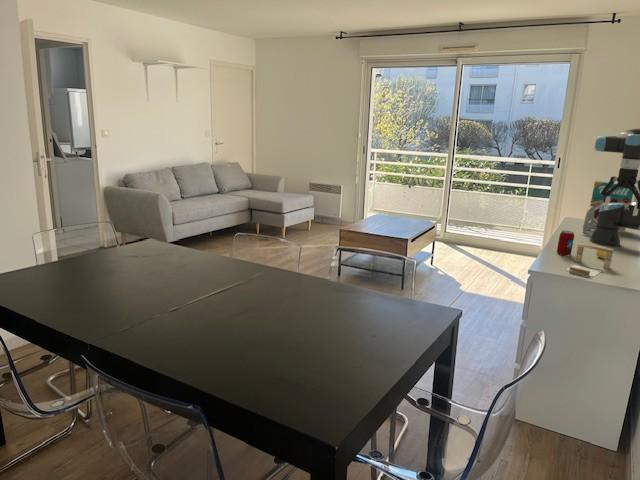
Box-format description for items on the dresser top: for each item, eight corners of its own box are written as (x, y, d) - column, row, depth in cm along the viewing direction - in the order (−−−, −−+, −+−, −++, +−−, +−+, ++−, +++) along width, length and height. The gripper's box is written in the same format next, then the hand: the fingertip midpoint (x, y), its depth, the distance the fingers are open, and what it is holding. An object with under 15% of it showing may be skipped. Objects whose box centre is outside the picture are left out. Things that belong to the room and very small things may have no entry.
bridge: (576, 260, 240) (580, 242, 238) (609, 267, 231) (613, 249, 229) (574, 261, 238) (578, 243, 236) (607, 269, 229) (611, 250, 226)
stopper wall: (569, 271, 222) (570, 266, 221) (589, 276, 217) (590, 270, 216) (568, 272, 221) (569, 267, 220) (588, 277, 216) (589, 271, 215)
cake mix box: (586, 227, 318) (594, 181, 310) (586, 225, 323) (595, 180, 315) (624, 232, 307) (634, 185, 299) (624, 230, 312) (634, 184, 304)
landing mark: (573, 265, 232) (573, 264, 232) (601, 271, 225) (601, 271, 225) (565, 270, 224) (565, 269, 224) (594, 277, 216) (594, 276, 216)
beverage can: (570, 256, 246) (574, 234, 243) (555, 254, 250) (559, 231, 246) (571, 254, 252) (575, 231, 249) (557, 251, 255) (561, 229, 252)
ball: (596, 255, 251) (598, 245, 250) (608, 258, 247) (610, 247, 246) (593, 257, 247) (595, 247, 246) (605, 260, 243) (608, 249, 242)
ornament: (591, 229, 311) (596, 204, 307) (614, 234, 302) (619, 207, 298) (580, 235, 295) (585, 208, 291) (604, 239, 287) (610, 212, 282)
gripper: (598, 165, 234) (590, 207, 240) (654, 171, 214) (643, 218, 220) (606, 164, 238) (598, 206, 244) (662, 171, 218) (652, 217, 224)
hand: (619, 212), depth 232 cm, fingers open, 13 cm apart
